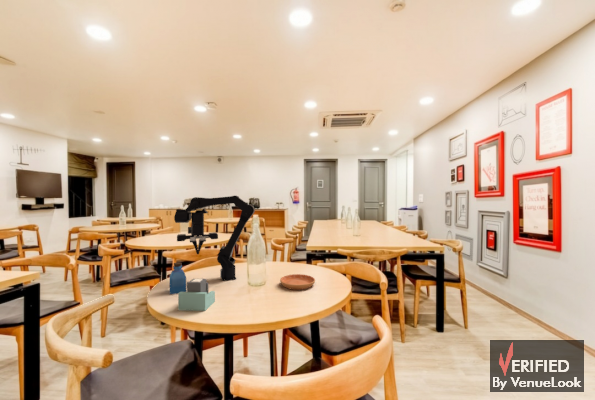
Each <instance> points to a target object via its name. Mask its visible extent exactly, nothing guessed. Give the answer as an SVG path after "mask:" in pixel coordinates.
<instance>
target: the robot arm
mask: <svg viewBox="0 0 595 400" xmlns="http://www.w3.org/2000/svg"><path fill="white" fill-rule="evenodd" d="M231 204H234V205H235V206H236V207H238V209H240V210H241V213H240V216H239V219H238V222H237V224H236V226H235V227H234V229H233V232H231V236H230V237H229V240H228V241H227V243H226V245H225V246H224V245H222V246H221V247H220V249H219V251H218V254H216V260H217V262H218V264H219V265H220V266H221V269H220V270H219V271H220V272H219V273H220V275H219V276H220V277H219V278H220V279H221V280H222V281H223V282H224V281H229V280H230V281H231V280H237V277H236V265H235V263H236V259H235V258H234V257H233V253H234V248H235V246H236V244H237V242H238V240H239V238H240V236H241V234H242V232H243V230H244V228H245V227H246V224H247V223H248V221H249V220H250V219H252V217H253V215H254V214H255V212H256V209H255V207H254V206H253V204H249V203H247V202H245V201H244V200H243V199H241V198H240V197H239V196H238V195H231V196H222V197H221V196H220V197H219V196H218V197H211V198H209V197H200V196H199V197H198V196H197V197H193V198H191V200H190V202H189V205H188V206H187V207H186V209H183V208H182V209H181V208H176V209H175V213H174V216H173V219H174V222H175V223H176V224H178V223H179V224H183V223H185V224H186V223H187V224H188V223H189V222H190V221H191V226H188V227H187V234H186V233H181V234H179V233H178V234H176V242H185V241H186V240H189V243H192V245H193V246H194V249H195V252H196V255H199V254H200V252H201V248H202V246H203V244H204V242H206V241H207V239H211V240H218V239H219V234H218V233H217V232H208V233H206V234H205V227H204V226H205V220H204V219H205V214H208V213H209V211H207V209H206V208H208V207H211V206H220V205H231ZM193 211H195V212H193ZM188 234H189V235H188ZM197 239H198V240H197ZM197 241H198V243H197Z"/></svg>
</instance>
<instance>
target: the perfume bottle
mask: <svg viewBox="0 0 595 400" xmlns="http://www.w3.org/2000/svg"><path fill="white" fill-rule="evenodd" d="M182 268H183V265H182V261H181V262H180V261H178V262H174V263H173V267H172V269H173V270H171V272H170V274H169V295H175V294H176V295H177V294H178V293H179V292H187V276H186V274H185V272H184V270H183V269H182Z"/></svg>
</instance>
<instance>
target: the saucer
mask: <svg viewBox="0 0 595 400" xmlns="http://www.w3.org/2000/svg"><path fill="white" fill-rule="evenodd" d="M279 281H280V284H281V285H282V286H283V287H284V288H286V289H289V290H295V291H296V290H297V291H299V290H307V289H309V288H311V287H312V286H313V285H314V284H315V282H316V279H315V277H314V276H311V275H307V274H301V273H299V274H298V273H296V274H295V273H294V274H287V275H284V276H281V277H280V280H279Z"/></svg>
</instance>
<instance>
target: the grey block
mask: <svg viewBox="0 0 595 400" xmlns="http://www.w3.org/2000/svg"><path fill="white" fill-rule="evenodd" d="M186 292H207V294H208V293H209V282H208V281H207V278H193V279H191V280H189V281H187V282H186Z"/></svg>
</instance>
